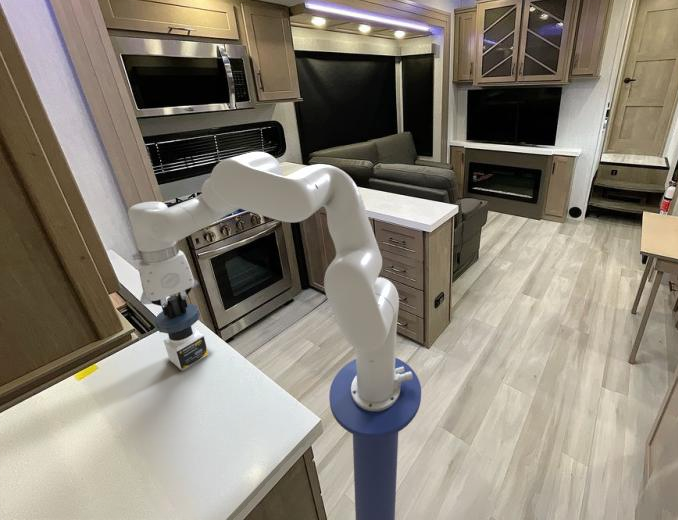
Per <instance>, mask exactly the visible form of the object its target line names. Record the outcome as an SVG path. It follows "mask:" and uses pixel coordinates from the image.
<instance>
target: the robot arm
mask: <svg viewBox="0 0 678 520" xmlns="http://www.w3.org/2000/svg"><path fill="white" fill-rule="evenodd" d="M360 192H361V191H360V190H359V188H358V186H357V184H356V182H355V181H354V180H353V178H352V177H351V176H350V175H349V174H348V173H347V172H345V171H344V170H342V169H340V168H339V167H336V166H334V165H330V164H326V163H325V164H324V163H316V164H310V165H307V166H305V167H302V168H300V169H298V170H296V171H294V172H291V173H290V174H287V175H285V176H284V175H283V169H282V167H281V164H280V162H279V160H278V159H276V157H274V156H273V155H271V154H269V153H267V152H265V151H252V152H247V153H244V154H240V155H235V156H232V157H228V158H225V159H223V160H221V161H220V162H218V163H217V164H216V165H215V166H214V167H213V169H212V171H211V172H210V177H209V178H207V179H206V180H205V181H204V182H203V184H202V185H201V193H200V194H199V195H196V196H195V197H193V198H190V199H188V200H185V201H182V202H180V203H177V204H174V205H172V206H169V207H168V205H167V204H166V203H164V202H161V201H144V202H139V203H136V204H134V205H132V206H131V207H129V208H128V211H127V215H128V216H127V217H128V219H129V222H130V226H131V229H132V232H133V236H134V239H135V242H136V246H137V252H136V253H133V254H132V255H131V257H132V259H133V261H137V260H139V261H138V271H139V279H140V283H141V288H142V293H141V296H140V299H139V301H140V304H141V305H154V306H155V305H156V306H159V307H161V309H162V311H163V313H164V315H165V316H167V315H168V317H169V318H170V319H172V318H173V313H172V310H171V306H170V305H169V304H168V302H167V298H169V297H171V296H174V295H176V294H178V295H177V296H178V298H179V302H180V306H181V310H182V312H183V313H186V312H187V311H186V308H187V307H188V306H187V303H188V302H187V298H188V295H189V294H190V292H191V291H192V289H194V288H195V287H197V286H198V285H199V281H198V280H197V279H196V278H195V277H194V276H193V273H192V270H191V266H190V264H189V262H188V259H187V257H186V254H185V253H184V251H182V250H180V249H179V246H178V242H179V241H181V240H183V239H185V238H187V237H189V236H191V235H193V234H195V233H196V232H199V231H200V230H203V229H204V228H208V226H210V225H212V224H215V223H216V222H218V221H219V220H220V219H222V218H224V217H227V216H228V215H232V214H233V213H235V212H237V211H238V210H243V211H246V212H249V213H253V214H256V215H259V216H263V217H266V218H269V219H273V220H276V221H279V222H283V223H300V222H302V221H305V220H308V219H309V218H310V217H311V216H312V215H314V214H315V213H316V212H317V211H318V210H320V209H321V208H322V207H324V209H325V213H326V221H327V222H326V223H327V228H328V232H329V235H330V237H331V239H332V243H333V246H334V248H335V257H334V258H333V260H332V261H331V263H330V264H329V265H328V267H327V269H326V271H325V274H324V276H323V277H324V279H323V287H324V293H325V296H326V299H327V302H328V303H329V306H330V309H331V311H332V313H333V315H334V318H335V321H336V323H337V325H338V328H339V331H340V333H341V335H342V336H343V338H344V340H345V341H346V342H347V343H348V344H349V346H350V347H352V348H353V349H355V353H356V355H355V357H356V358H355V359H356V364H357V375H356V376H355V378H354V379H353V382H352V384H351V395H352V398H353V400H354V402H355V403H356V404H357V405H358V406H359V407H361V408H362V409H365V410H368V411H382V410H385V409H387V408H389V407H390V406H392V405H393V404H394V403H395V402H396V401H397V399H398V397H399V395H400V384H401V383H402V382H403V381H408V380H411V379H413V376H412V372H411V371H410V372H406V373H404V374H401V375H400V374H399V373H402V372H404V371H405V370H404V367H399V368H396V369H395V358H396V347H397V345H396V344H397V328H398V318H399V317H398V316H399V308H400V297H399V293H398V292H399V291H398V290H397V288H396V286H395V284H394V283H392V281H390V280H389V279H387V278H384V277H381V276H379V275H380V273H381V271H382V268H383V257H382V254H381V251H380V248H379V244H378V242H377V239H376V236H375V233H374V230H373V227H372V224H371V221H370V219H369V216H368V213H367V210H366V207H365V204H364V200H363V196H362V195H361V193H360ZM397 373H398V374H397Z"/></svg>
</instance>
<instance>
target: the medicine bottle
mask: <svg viewBox="0 0 678 520" xmlns="http://www.w3.org/2000/svg"><path fill="white" fill-rule="evenodd" d="M167 335H168V337H167V338H165V339H164V340H163V343H164V346H165V349H166V353H167V357H168V359H169V361H170V362H171V363H172V364H174V365H175V366H176V367H177V368H178V369H179V370H181V371H184V370H186V369H188V368H189V367H191V366H192V365H194V364H195V363H197V362H199V361H200V360H202V359H203V358H205V357H206V356H208V355H209V352H208V348H207V343H206V339H205V335H204V334H203V333H201V332H200V331H198V330H197V329H196V326H195V323H194V324H193V325H192V326H191V327H188V328H186V329H184V330H182V331H179V332H174V333H169V334H168V333H167Z"/></svg>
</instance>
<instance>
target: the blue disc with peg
mask: <svg viewBox="0 0 678 520" xmlns="http://www.w3.org/2000/svg"><path fill="white" fill-rule="evenodd" d="M166 300H167V302H168V304H169V305H170V306H171V310H172V313H173V318H172V319H170V318H169V317H168V315H167V316H165V315H164V313H163V310H162V311H160V312H159V313H157V316H156V317H155V320H154V321H155V322H154V323H155V327H156V329H157V330H158V332H159V333H162V334H167V335H168V334H169V333H174V332H179V331H182V330H184V329H186V328H188V327H191V326H192V325H193V324H194V325H195V324H196V323H197V322H198V321H199V318H200V315H201V314H200V310H199V309H198V306H197V305H196V304H193V303H188V302H187V306H188V307H187V308H186V311H187V312H186V313H183V312H182V310H181V306H180V302H179V298H178V295H171V296H168V297H167V298H166Z"/></svg>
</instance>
